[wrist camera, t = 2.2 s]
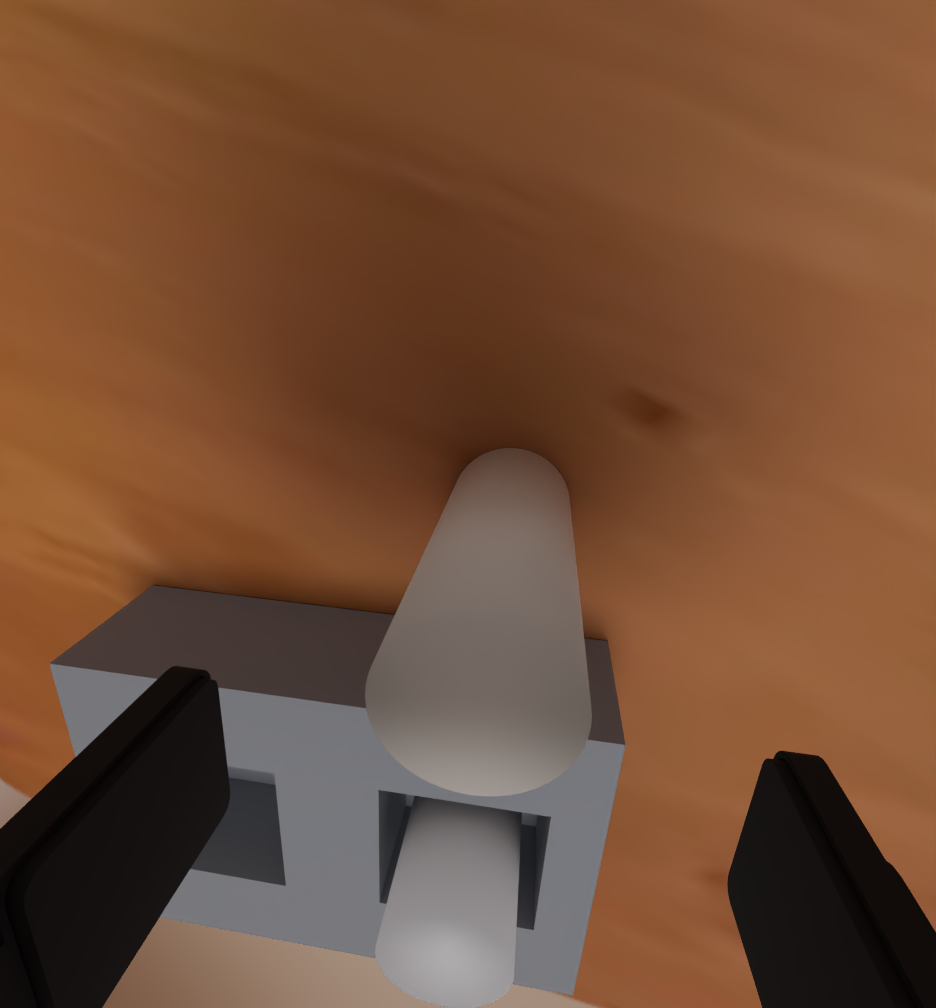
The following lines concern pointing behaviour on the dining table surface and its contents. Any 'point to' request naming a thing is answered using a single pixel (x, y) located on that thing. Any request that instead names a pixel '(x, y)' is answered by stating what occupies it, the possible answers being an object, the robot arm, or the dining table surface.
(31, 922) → the robot arm
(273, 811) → the socket block
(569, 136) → the dining table surface
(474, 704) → the peg
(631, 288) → the dining table surface
